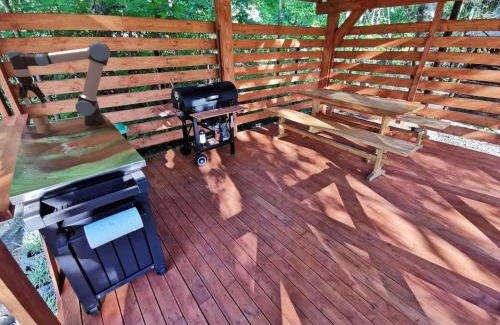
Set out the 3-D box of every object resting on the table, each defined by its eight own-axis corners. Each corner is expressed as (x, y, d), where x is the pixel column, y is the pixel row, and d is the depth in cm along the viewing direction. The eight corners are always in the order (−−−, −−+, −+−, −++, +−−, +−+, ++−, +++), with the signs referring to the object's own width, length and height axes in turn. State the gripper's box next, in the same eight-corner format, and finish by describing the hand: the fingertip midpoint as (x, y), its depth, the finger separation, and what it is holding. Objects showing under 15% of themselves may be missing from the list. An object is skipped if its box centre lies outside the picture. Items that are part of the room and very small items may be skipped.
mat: (38, 129, 184) (38, 128, 184) (59, 130, 180) (59, 130, 180) (24, 133, 175) (24, 132, 175) (46, 135, 171) (46, 134, 171)
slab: (48, 129, 181) (42, 114, 175) (52, 130, 180) (46, 114, 175) (37, 133, 173) (31, 116, 168) (42, 133, 173) (35, 117, 167)
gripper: (3, 76, 159) (17, 107, 168) (32, 76, 154) (45, 109, 163) (15, 75, 165) (28, 105, 175) (44, 75, 160) (55, 106, 170)
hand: (36, 107), depth 169 cm, fingers open, 13 cm apart
